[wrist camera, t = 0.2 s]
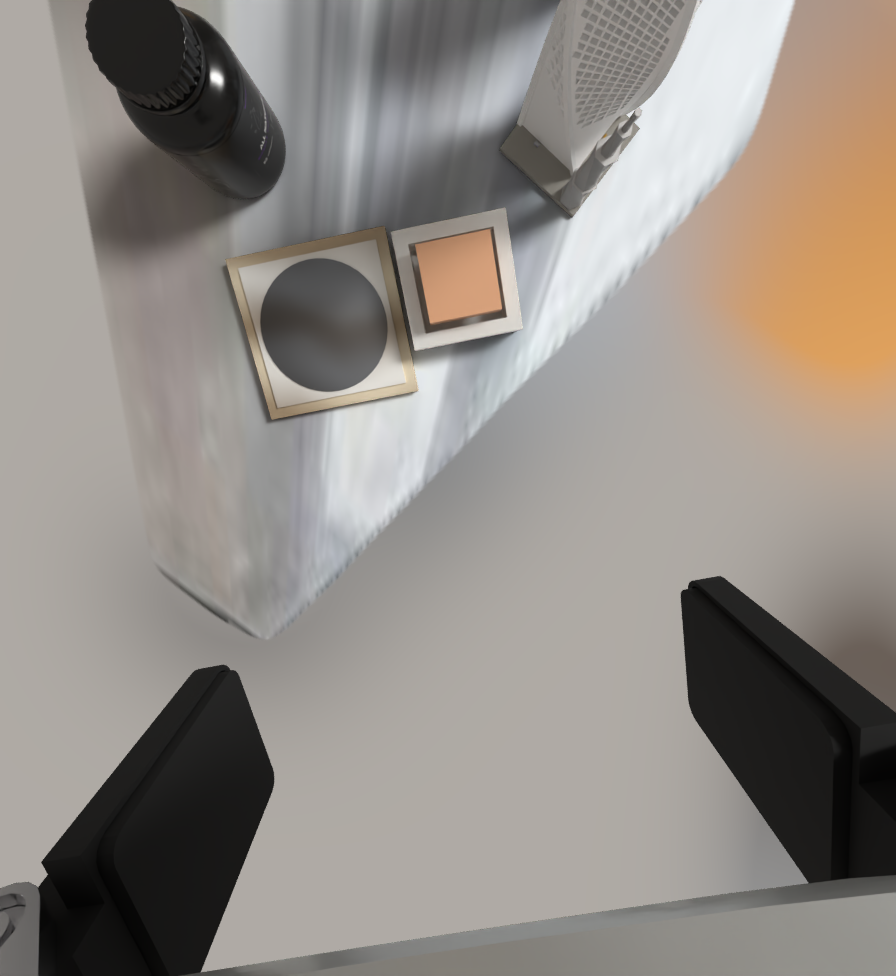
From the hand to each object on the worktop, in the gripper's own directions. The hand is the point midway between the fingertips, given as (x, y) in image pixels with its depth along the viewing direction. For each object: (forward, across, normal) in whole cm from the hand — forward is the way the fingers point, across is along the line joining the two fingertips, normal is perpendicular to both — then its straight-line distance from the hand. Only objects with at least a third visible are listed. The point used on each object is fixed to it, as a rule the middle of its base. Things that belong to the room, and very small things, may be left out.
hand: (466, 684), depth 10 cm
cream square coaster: (+31, +8, -10) cm, 33 cm away
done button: (+28, -3, -11) cm, 30 cm away
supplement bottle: (+31, +11, -23) cm, 40 cm away
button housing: (+31, -3, -11) cm, 33 cm away
